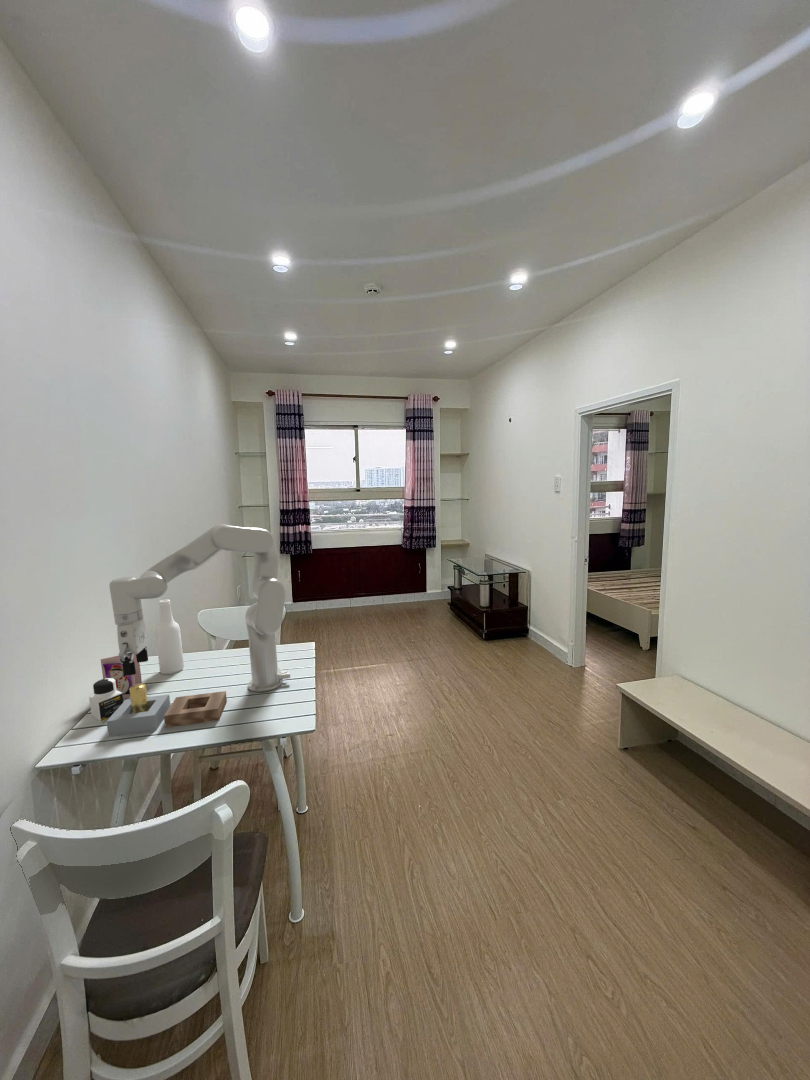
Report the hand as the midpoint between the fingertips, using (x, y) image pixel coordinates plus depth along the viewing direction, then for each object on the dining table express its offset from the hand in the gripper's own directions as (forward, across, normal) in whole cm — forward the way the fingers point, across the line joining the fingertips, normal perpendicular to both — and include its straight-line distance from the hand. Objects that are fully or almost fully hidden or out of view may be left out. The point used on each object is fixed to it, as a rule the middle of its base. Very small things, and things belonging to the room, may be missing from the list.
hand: (136, 668), depth 134 cm
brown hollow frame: (+18, 0, -16) cm, 25 cm away
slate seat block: (+18, 0, +1) cm, 18 cm away
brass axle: (+16, 0, +1) cm, 16 cm away
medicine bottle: (+18, +8, +14) cm, 24 cm away
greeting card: (+18, +22, +14) cm, 31 cm away
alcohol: (+19, +40, +4) cm, 44 cm away
